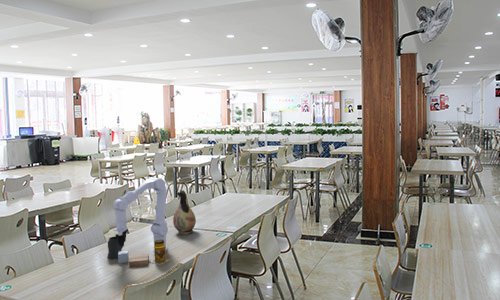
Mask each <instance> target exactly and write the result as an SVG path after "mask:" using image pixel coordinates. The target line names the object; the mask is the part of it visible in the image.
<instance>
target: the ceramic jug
mask: <svg viewBox="0 0 500 300" xmlns="http://www.w3.org/2000/svg"><path fill="white" fill-rule="evenodd" d="M176 195H177V196H178V197H179V199H180V200H179V204H178V206H177V207H176V210H175V212H174V214H173V218H172V220H173V221H172V224H173V227H174V228H175V229H176V230H177V232H178V233H179V234H181V235H189V234H190V233H193V230H194V228H195V225H196V223H197V220H196V215H195V213H194V211H193V210H192V208H191V207H190V206H189V204H188V203H187V193H186V191H185V190H180V191H177V193H176Z"/></svg>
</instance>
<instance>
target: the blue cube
mask: <svg viewBox="0 0 500 300" xmlns="http://www.w3.org/2000/svg"><path fill="white" fill-rule="evenodd" d="M129 259H130V256H129V250H122V251H119V253H118V259H117V260H118V264H121V263H129Z"/></svg>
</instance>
